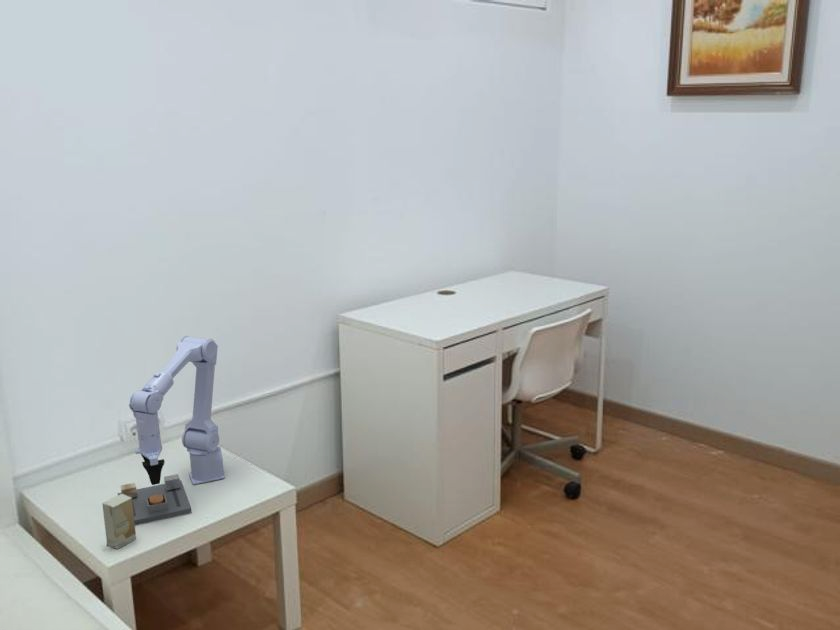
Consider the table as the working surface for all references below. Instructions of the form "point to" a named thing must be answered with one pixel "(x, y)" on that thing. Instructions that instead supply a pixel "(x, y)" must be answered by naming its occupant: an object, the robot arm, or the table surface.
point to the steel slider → (172, 482)
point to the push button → (156, 499)
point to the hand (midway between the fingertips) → (153, 477)
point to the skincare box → (119, 521)
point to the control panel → (171, 507)
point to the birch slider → (129, 490)
